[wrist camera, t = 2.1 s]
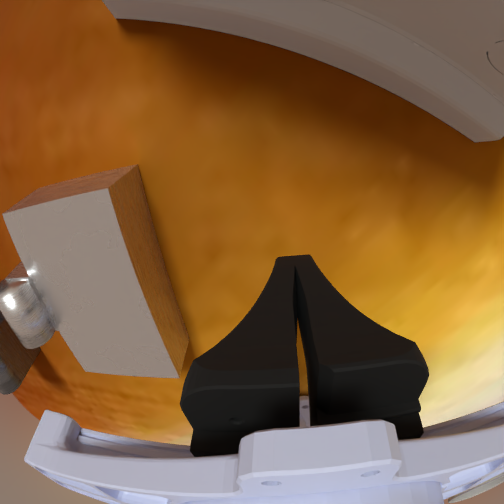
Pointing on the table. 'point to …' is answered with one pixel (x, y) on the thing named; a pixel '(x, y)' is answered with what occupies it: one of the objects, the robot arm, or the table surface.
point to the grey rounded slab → (374, 45)
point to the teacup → (478, 489)
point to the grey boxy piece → (94, 276)
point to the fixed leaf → (13, 358)
